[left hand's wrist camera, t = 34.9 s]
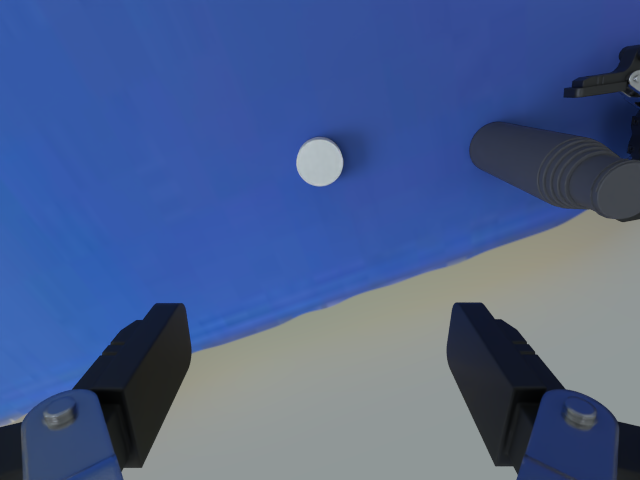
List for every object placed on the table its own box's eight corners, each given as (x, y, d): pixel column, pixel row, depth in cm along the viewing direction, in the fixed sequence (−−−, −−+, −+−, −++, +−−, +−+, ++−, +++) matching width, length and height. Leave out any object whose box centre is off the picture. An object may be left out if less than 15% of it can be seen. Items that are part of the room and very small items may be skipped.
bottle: (524, 124, 38) (688, 153, 21) (510, 173, 40) (650, 236, 23) (476, 119, 38) (602, 143, 21) (464, 168, 40) (571, 227, 23)
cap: (329, 128, 38) (330, 130, 36) (349, 169, 40) (351, 173, 38) (289, 149, 39) (288, 153, 37) (310, 188, 40) (309, 193, 38)
